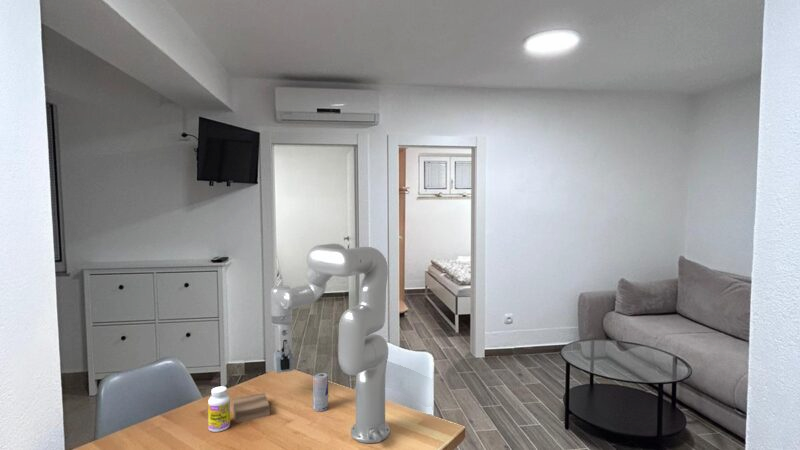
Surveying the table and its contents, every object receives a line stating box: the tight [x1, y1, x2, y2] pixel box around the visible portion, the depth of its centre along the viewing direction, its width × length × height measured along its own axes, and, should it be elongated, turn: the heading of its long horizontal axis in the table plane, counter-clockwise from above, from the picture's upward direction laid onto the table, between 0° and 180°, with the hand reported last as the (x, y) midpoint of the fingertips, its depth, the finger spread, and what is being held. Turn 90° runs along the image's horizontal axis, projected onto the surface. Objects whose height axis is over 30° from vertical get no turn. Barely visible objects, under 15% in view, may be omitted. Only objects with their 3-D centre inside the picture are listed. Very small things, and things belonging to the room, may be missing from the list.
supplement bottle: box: [207, 385, 231, 433], centre depth 136 cm, size 7×7×13 cm
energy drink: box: [312, 372, 329, 413], centre depth 149 cm, size 5×5×12 cm
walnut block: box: [232, 392, 271, 424], centre depth 146 cm, size 11×11×4 cm
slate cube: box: [273, 349, 294, 374], centre depth 156 cm, size 6×6×6 cm
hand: (283, 366), depth 156 cm, fingers closed on slate cube, 6 cm apart
